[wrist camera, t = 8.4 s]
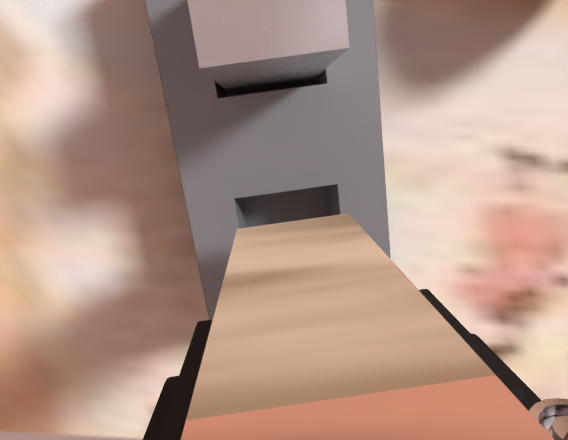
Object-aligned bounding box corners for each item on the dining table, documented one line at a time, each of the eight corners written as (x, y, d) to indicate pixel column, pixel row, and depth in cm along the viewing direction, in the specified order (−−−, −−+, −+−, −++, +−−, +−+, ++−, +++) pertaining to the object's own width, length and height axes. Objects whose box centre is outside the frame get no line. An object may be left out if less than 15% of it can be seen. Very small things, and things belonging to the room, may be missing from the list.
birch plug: (358, 314, 16) (560, 734, 5) (254, 329, 16) (228, 786, 5) (348, 213, 15) (578, 466, 4) (237, 228, 15) (157, 529, 4)
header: (371, 285, 26) (394, 322, 21) (224, 306, 26) (215, 348, 21) (341, -70, 21) (364, -128, 16) (158, -46, 21) (125, -97, 16)
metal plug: (307, 84, 22) (349, 47, 11) (232, 94, 22) (199, 68, 11) (298, 0, 21) (334, -132, 10) (219, 11, 21) (168, -110, 10)
